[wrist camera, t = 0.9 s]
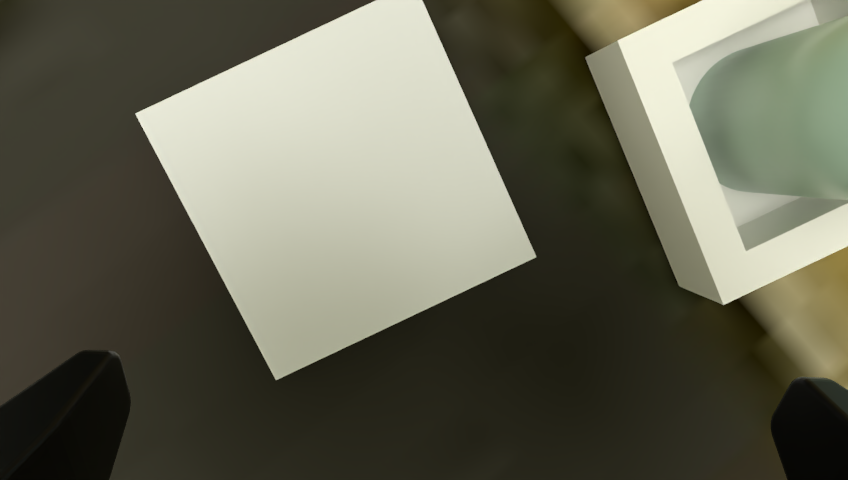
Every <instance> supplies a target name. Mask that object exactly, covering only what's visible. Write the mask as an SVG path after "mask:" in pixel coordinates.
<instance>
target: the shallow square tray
mask: <svg viewBox="0 0 848 480" xmlns="http://www.w3.org/2000/svg"><path fill="white" fill-rule="evenodd" d="M846 16H848V0H702V1H700V2H698V3H696V4H694V5H692V6H690V7H687V8H685V9H683V10H681V11H679V12H677V13H675V14H673V15H670V16H668V17H666V18H664V19H662V20H660V21H658V22H656V23H653V24H651V25H649V26H647V27H645V28H643V29H641V30H639V31H637V32H634V33H632V34H630V35H628V36H626V37H624V38H622V39H620V40H617V41H616V42H614V43H612V44H610V45H608V46H606V47H604V48H602V49H600V50H598V51H596V52H595V53H593V54H591V55H589V56H587V57H585V59H586V61H587V64H588V66H589V69H590V71H591V73H592V76H593V78H594V81H595V83H596V86H597V88H598V90H599V93H600V95H601V98H602V100H603V103H604V105H605V108H606V110H607V112H608V115H609V117H610V120H611V122H612V125H613V127H614V129H615V132H616V134H617V137H618V139H619V142H620V144H621V146H622V149H623V151H624V154H625V156H626V159H627V161H628V163H629V166H630V168H631V171H632V173H633V176H634V178H635V180H636V183H637V185H638V188H639V190H640V193H641V195H642V197H643V200H644V202H645V205H646V207H647V210H648V212H649V214H650V217H651V219H652V222H653V224H654V227H655V229H656V231H657V234H658V236H659V239H660V241H661V244H662V246H663V249H664V251H665V253H666V256H667V258H668V261H669V263H670V266H671V268H672V270H673V273H674V275H675V278H676V280H677V283H678V285H679V286H680V287H682V288H684V289H687V290H689V291H692V292H694V293H696V294H699V295H701V296H703V297H706V298H708V299H711V300H713V301H715V302H718V303H720V304H723V305H724V304H727V303H729V302H731V301H733V300H735V299H737V298H739V297H741V296H743V295H746V294H748V293H750V292H752V291H754V290H756V289H758V288H760V287H762V286H765V285H767V284H769V283H771V282H773V281H775V280H777V279H779V278H781V277H784V276H786V275H788V274H790V273H792V272H794V271H796V270H798V269H800V268H803V267H805V266H807V265H809V264H811V263H813V262H815V261H817V260H819V259H821V258H824V257H826V256H828V255H830V254H832V253H834V252H836V251H838V250H840V249H843V248H845V247H847V246H848V200H838V199H826V198H814V197H801V196H789V195H776V194H764V193H752V192H743V191H737V190H733V189H730V188H728V187H725V186H723V185H721V184H720V183H719V181H718V178H717V176H716V173H715V171H714V168H713V166H712V163H711V160H710V158H709V155H708V153H707V150H706V148H705V145H704V143H703V140H702V137H701V135H700V132H699V130H698V127H697V125H696V122H695V119H694V117H693V114H692V112H691V109H690V107H689V105H690V101H691V98H692V95H693V93H694V91H695V89H696V87H697V85H698V84H699V82H700V80H701V79H702V77H703V76H704V75H705V74H706V72H707V71H708V70H709V69H710V68H711V67H712V66H713V65H714V64H716V63H717V62H718V61H720V60H721V59H722V58H724V57H726V56H727V55H729V54H731V53H734V52H736V51H739V50H741V49H745V48H748V47H751V46H754V45H757V44H760V43H763V42H767V41H770V40H773V39H776V38H779V37H782V36H786V35H789V34H792V33H795V32H798V31H801V30H805V29H808V28H811V27H814V26H817V25H820V24H823V23H827V22H830V21H833V20H836V19H839V18H842V17H846Z"/></svg>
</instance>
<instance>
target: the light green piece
mask: <svg viewBox="0 0 848 480" xmlns="http://www.w3.org/2000/svg"><path fill="white" fill-rule="evenodd" d="M689 107H690V109H691V112H692V114H693V117H694V119H695V122H696V125H697V127H698V130H699V132H700V135H701V137H702V140H703V143H704V145H705V148H706V150H707V153H708V155H709V158H710V160H711V163H712V166H713V168H714V171H715V173H716V176H717V178H718V181H719V183H720V184H721V185H723V186H725V187H728V188H730V189H733V190H737V191H743V192H752V193H764V194H776V195H789V196H801V197H814V198H826V199H838V200H848V16H846V17H842V18H839V19H836V20H833V21H830V22H827V23H823V24H820V25H817V26H814V27H811V28H808V29H805V30H801V31H798V32H795V33H792V34H789V35H786V36H782V37H779V38H776V39H773V40H770V41H767V42H763V43H760V44H757V45H754V46H751V47H748V48H745V49H741V50H739V51H736V52H734V53H731V54H729V55H727V56H726V57H724V58H722V59H721V60H720V61H718V62H717V63H716V64H714V65H713V66H712V67H711V68H710V69H709V70H708V71H707V72H706V74H705V75H704V76H703V77H702V79H701V80H700V82H699V84H698V85H697V87H696V89H695V91H694V93H693V95H692V98H691V101H690V105H689Z"/></svg>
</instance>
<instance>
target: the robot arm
mask: <svg viewBox="0 0 848 480" xmlns="http://www.w3.org/2000/svg"><path fill="white" fill-rule="evenodd" d="M130 403H131V400H130V393H129V389H128V385H127V381H126V377H125V373H124V369H123V365H122V361H121V358H120V356H119V355H118V353H116V352H114V351H106V350H84V351H81V352H79V353H77V354H75V355H74V356H72V357H71V358H70V359H68V360H67V361H65V362H64V363H62V364H61V365H59V366H58V367H56V368H55V369H54V370H52V371H51V372H49V373H48V374H46V375H45V376H43V377H42V378H40V379H39V380H38V381H36V382H35V383H33V384H32V385H30V386H29V387H27V388H26V389H24V390H23V391H22V392H20V393H19V394H17V395H16V396H14V397H13V398H11V399H10V400H8V401H7V402H6V403H4V404H3V405H1V406H0V480H109V479H110V475H111V472H112V469H113V465H114V462H115V459H116V455H117V452H118V449H119V446H120V442H121V439H122V436H123V432H124V429H125V426H126V422H127V419H128V416H129V412H130ZM771 432H772V436H773V439H774V442H775V445H776V448H777V451H778V454H779V457H780V459H781V462H782V465H783V468H784V471H785V474H786V477H787V479H788V480H848V390H847V389H845V388H844V387H842V386H841V385H839V384H837V383H836V382H834V381H832V380H830V379H827V378H817V377H799V378H796V379H795V380H793V381H792V382H791V384H790V385H789V387H788V389H787V391H786V393H785V394H784V396H783V398H782V400H781V401H780V403H779V405H778V407H777V409H776V410H775V412H774V414H773V416H772V420H771Z"/></svg>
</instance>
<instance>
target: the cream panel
mask: <svg viewBox="0 0 848 480" xmlns="http://www.w3.org/2000/svg"><path fill="white" fill-rule="evenodd" d="M136 116H137V118H138V120H139V122H140V124H141V126H142V128H143V130H144V131H145V133H146V135H147V137H148V139H149V141H150V143H151V145H152V147H153V148H154V150H155V152H156V154H157V156H158V158H159V160H160V162H161V164H162V165H163V167H164V169H165V171H166V173H167V175H168V177H169V179H170V181H171V183H172V184H173V186H174V188H175V190H176V192H177V194H178V196H179V198H180V200H181V201H182V203H183V205H184V207H185V209H186V211H187V213H188V215H189V217H190V219H191V220H192V222H193V224H194V226H195V228H196V230H197V232H198V234H199V236H200V237H201V239H202V241H203V243H204V245H205V247H206V249H207V251H208V253H209V254H210V256H211V258H212V260H213V262H214V264H215V266H216V268H217V270H218V272H219V273H220V275H221V277H222V279H223V281H224V283H225V285H226V287H227V289H228V290H229V292H230V294H231V296H232V298H233V300H234V302H235V304H236V306H237V307H238V309H239V311H240V313H241V315H242V317H243V319H244V321H245V323H246V325H247V326H248V328H249V330H250V332H251V334H252V336H253V338H254V340H255V342H256V343H257V345H258V347H259V349H260V351H261V353H262V355H263V357H264V359H265V361H266V362H267V364H268V366H269V368H270V370H271V372H272V374H273V376H274V378H275V379H276V380H278V379H280V378H282V377H284V376H286V375H288V374H290V373H292V372H295V371H297V370H299V369H301V368H303V367H305V366H307V365H309V364H311V363H314V362H316V361H318V360H320V359H322V358H324V357H326V356H328V355H331V354H333V353H335V352H337V351H339V350H341V349H343V348H345V347H347V346H350V345H352V344H354V343H356V342H358V341H360V340H362V339H364V338H366V337H369V336H371V335H373V334H375V333H377V332H379V331H381V330H383V329H385V328H388V327H390V326H392V325H394V324H396V323H398V322H400V321H402V320H405V319H407V318H409V317H411V316H413V315H415V314H417V313H419V312H421V311H424V310H426V309H428V308H430V307H432V306H434V305H436V304H438V303H440V302H443V301H445V300H447V299H449V298H451V297H453V296H455V295H457V294H459V293H462V292H464V291H466V290H468V289H470V288H472V287H474V286H476V285H479V284H481V283H483V282H485V281H487V280H489V279H491V278H493V277H495V276H498V275H500V274H502V273H504V272H506V271H508V270H510V269H512V268H514V267H517V266H519V265H521V264H523V263H525V262H527V261H529V260H531V259H533V258H536V255H535V253H534V250H533V248H532V246H531V244H530V241H529V239H528V237H527V235H526V232H525V230H524V228H523V226H522V223H521V221H520V219H519V217H518V214H517V212H516V210H515V208H514V205H513V203H512V201H511V199H510V196H509V194H508V192H507V190H506V187H505V185H504V183H503V181H502V178H501V176H500V174H499V172H498V169H497V167H496V165H495V163H494V160H493V158H492V156H491V154H490V151H489V149H488V147H487V145H486V142H485V140H484V138H483V136H482V133H481V131H480V129H479V127H478V124H477V122H476V120H475V118H474V115H473V113H472V111H471V109H470V106H469V104H468V102H467V100H466V97H465V95H464V93H463V91H462V88H461V86H460V84H459V82H458V79H457V77H456V75H455V73H454V70H453V68H452V66H451V64H450V62H449V59H448V57H447V55H446V53H445V50H444V48H443V46H442V44H441V41H440V39H439V37H438V35H437V32H436V30H435V28H434V26H433V23H432V21H431V19H430V17H429V14H428V12H427V10H426V8H425V5H424V3H423V1H422V0H376V1H374V2H372V3H370V4H367V5H365V6H363V7H361V8H359V9H357V10H355V11H353V12H350V13H348V14H346V15H344V16H342V17H340V18H338V19H335V20H333V21H331V22H329V23H327V24H325V25H323V26H321V27H318V28H316V29H314V30H312V31H310V32H308V33H306V34H304V35H301V36H299V37H297V38H295V39H293V40H291V41H289V42H287V43H284V44H282V45H280V46H278V47H276V48H274V49H272V50H270V51H267V52H265V53H263V54H261V55H259V56H257V57H255V58H253V59H250V60H248V61H246V62H244V63H242V64H240V65H238V66H236V67H233V68H231V69H229V70H227V71H225V72H223V73H221V74H218V75H216V76H214V77H212V78H210V79H208V80H206V81H204V82H201V83H199V84H197V85H195V86H193V87H191V88H189V89H187V90H184V91H182V92H180V93H178V94H176V95H174V96H172V97H170V98H167V99H165V100H163V101H161V102H159V103H157V104H155V105H153V106H150V107H148V108H146V109H144V110H142V111H140V112H138V113H136Z"/></svg>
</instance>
